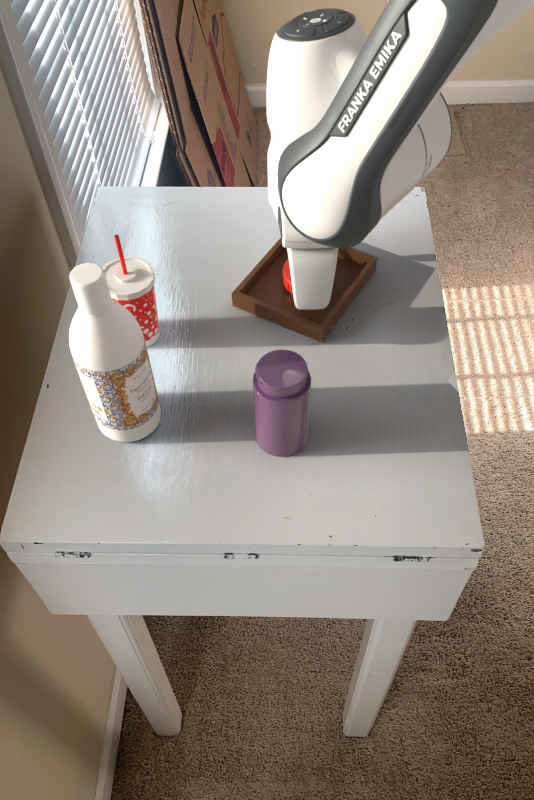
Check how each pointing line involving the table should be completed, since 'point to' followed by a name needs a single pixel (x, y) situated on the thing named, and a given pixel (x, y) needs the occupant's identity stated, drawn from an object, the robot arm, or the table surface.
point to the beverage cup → (134, 290)
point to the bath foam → (112, 359)
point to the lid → (287, 277)
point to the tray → (277, 305)
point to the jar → (281, 402)
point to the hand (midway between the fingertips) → (305, 284)
